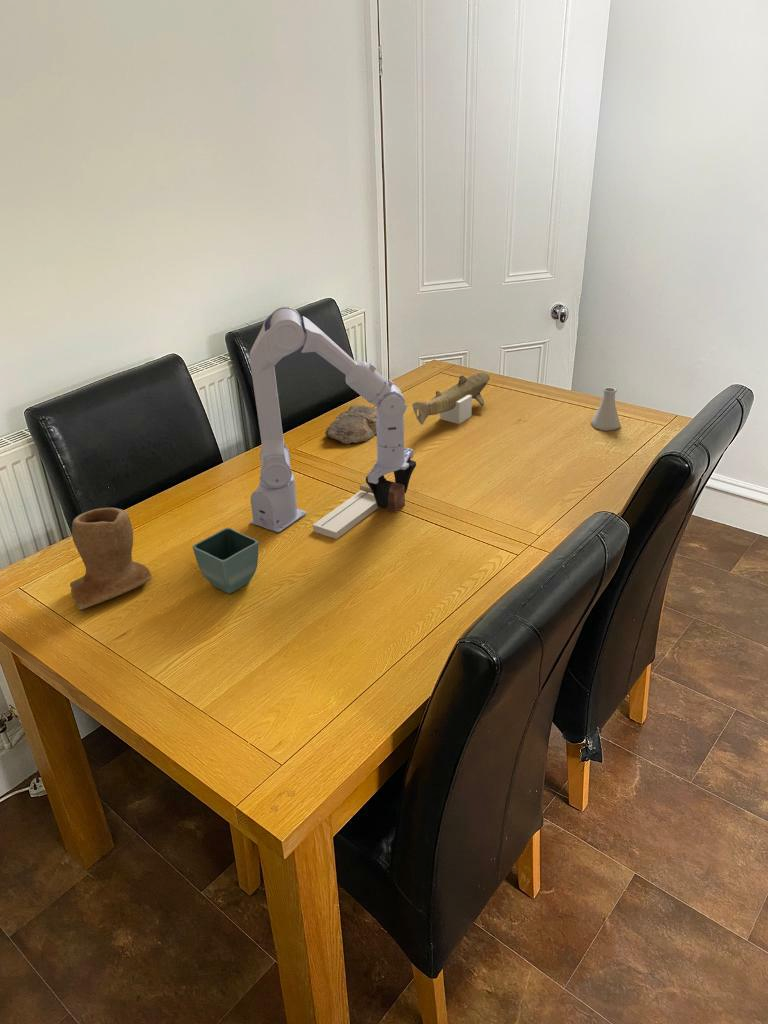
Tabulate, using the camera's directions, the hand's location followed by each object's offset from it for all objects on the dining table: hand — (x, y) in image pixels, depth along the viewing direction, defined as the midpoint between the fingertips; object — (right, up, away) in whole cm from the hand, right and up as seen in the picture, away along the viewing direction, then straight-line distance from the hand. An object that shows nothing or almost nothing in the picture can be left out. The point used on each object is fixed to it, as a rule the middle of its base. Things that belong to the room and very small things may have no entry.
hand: (392, 499), depth 174 cm
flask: (+56, +19, +35) cm, 68 cm away
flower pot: (-30, -16, -23) cm, 41 cm away
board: (-8, -3, -1) cm, 8 cm away
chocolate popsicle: (-2, -1, +2) cm, 4 cm away
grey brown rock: (-9, +18, +36) cm, 42 cm away
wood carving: (+16, +21, +40) cm, 49 cm away
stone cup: (-53, -17, -23) cm, 60 cm away
